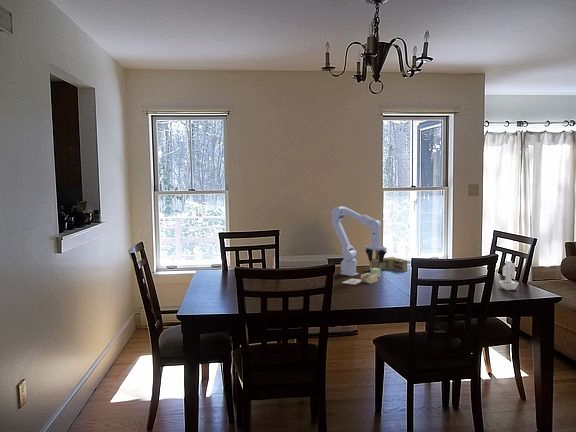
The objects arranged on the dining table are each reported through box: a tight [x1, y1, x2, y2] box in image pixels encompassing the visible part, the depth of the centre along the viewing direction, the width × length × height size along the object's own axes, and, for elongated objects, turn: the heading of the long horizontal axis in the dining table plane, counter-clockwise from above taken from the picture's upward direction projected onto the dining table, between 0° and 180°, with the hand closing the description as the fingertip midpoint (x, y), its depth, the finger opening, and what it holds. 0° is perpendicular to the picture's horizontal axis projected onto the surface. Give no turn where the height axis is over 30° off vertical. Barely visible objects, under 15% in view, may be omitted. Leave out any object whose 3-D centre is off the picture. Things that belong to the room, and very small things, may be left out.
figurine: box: [498, 260, 519, 291], centre depth 239 cm, size 7×9×15 cm
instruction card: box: [341, 278, 362, 285], centre depth 267 cm, size 9×12×1 cm
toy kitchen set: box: [369, 245, 408, 273], centre depth 294 cm, size 18×17×15 cm
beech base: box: [360, 272, 379, 284], centre depth 265 cm, size 7×7×4 cm
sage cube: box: [369, 268, 382, 278], centre depth 278 cm, size 4×4×5 cm
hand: (375, 261), depth 277 cm, fingers open, 7 cm apart
